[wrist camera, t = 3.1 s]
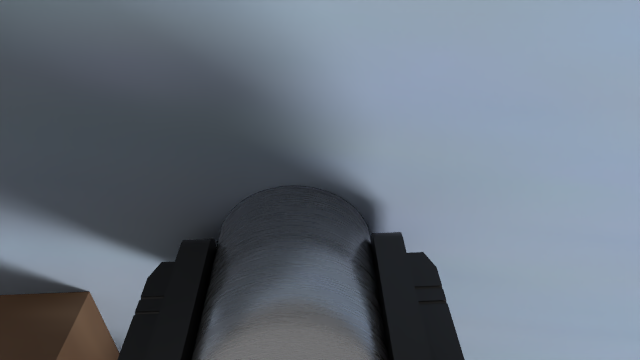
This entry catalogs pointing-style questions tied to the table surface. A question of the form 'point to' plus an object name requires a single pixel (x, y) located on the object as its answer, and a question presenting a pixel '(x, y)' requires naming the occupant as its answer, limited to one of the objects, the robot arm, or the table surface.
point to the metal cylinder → (292, 282)
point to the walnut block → (53, 328)
